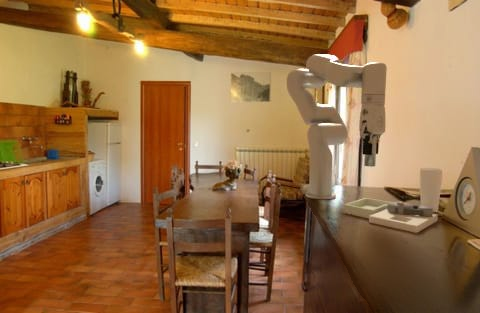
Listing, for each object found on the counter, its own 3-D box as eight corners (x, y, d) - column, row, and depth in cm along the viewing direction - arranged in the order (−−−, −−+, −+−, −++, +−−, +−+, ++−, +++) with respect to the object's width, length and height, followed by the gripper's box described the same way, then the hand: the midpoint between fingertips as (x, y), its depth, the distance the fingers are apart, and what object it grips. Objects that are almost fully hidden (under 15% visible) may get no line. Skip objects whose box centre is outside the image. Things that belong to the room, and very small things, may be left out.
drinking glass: (443, 213, 109) (445, 170, 108) (422, 213, 110) (424, 170, 109) (435, 208, 116) (437, 167, 114) (415, 208, 117) (417, 167, 115)
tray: (343, 212, 111) (343, 204, 111) (365, 205, 122) (365, 197, 121) (372, 219, 104) (372, 210, 103) (393, 210, 114) (393, 202, 113)
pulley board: (369, 222, 101) (369, 206, 100) (392, 212, 112) (393, 197, 111) (416, 232, 90) (417, 214, 90) (437, 220, 101) (438, 204, 101)
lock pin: (372, 167, 108) (374, 128, 106) (360, 165, 111) (361, 128, 110) (379, 165, 111) (381, 128, 109) (366, 164, 114) (368, 128, 113)
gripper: (371, 99, 100) (368, 157, 102) (394, 101, 111) (392, 153, 113) (349, 100, 106) (347, 155, 108) (374, 102, 117) (371, 151, 119)
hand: (370, 153), depth 110 cm, fingers closed on lock pin, 3 cm apart
